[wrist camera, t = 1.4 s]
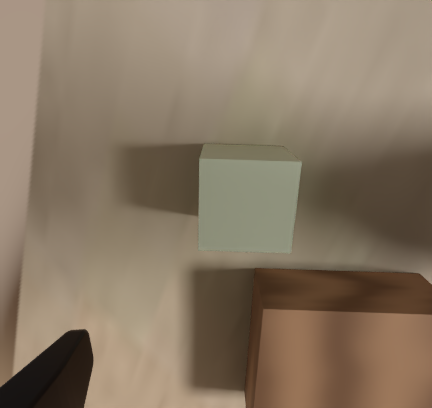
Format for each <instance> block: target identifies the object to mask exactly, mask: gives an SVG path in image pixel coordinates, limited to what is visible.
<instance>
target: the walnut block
mask: <svg viewBox="0 0 432 408" xmlns="http://www.w3.org/2000/svg"><path fill="white" fill-rule="evenodd" d="M245 401H246V408H432V284H430V283H429V282H428V281H427V280H426V279H425V278H424V277H423V276H421V275H420V274H418V273H387V272H357V271H327V270H297V269H266V268H255V274H254V286H253V298H252V310H251V322H250V334H249V346H248V357H247V369H246V381H245Z"/></svg>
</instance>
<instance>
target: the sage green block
mask: <svg viewBox="0 0 432 408" xmlns="http://www.w3.org/2000/svg"><path fill="white" fill-rule="evenodd" d="M301 167H302V161H300V160H299V159H298V158H297V157H295V156H294V155H293V154H292V153H291V152H289V151H288V150H287V149H286V148H284V147H283V146H264V145H232V144H204V145H203V148H202V152H201V155H200V158H199V223H198V251H229V252H260V253H291V248H292V240H293V232H294V224H295V216H296V207H297V199H298V191H299V183H300V175H301Z"/></svg>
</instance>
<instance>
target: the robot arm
mask: <svg viewBox="0 0 432 408" xmlns="http://www.w3.org/2000/svg"><path fill="white" fill-rule="evenodd" d="M92 368H93V352H92V347H91V342H90V337H89V333H88V331H87V330H85V329H80V330H70V331H68V332H66V333H65V334H64V335H63V336H61V337H60V338H59V339H58V340H57V341H55V342H54V343H53V344H52V345H51V346H49V347H48V348H47V349H46V350H45V351H43V352H42V353H41V354H40V355H39V356H37V357H36V358H35V359H34V360H33V361H31V362H30V363H29V364H28V365H27V366H25V367H24V368H23V369H22V370H21V371H19V372H18V373H17V374H16V375H14V376H13V377H12V378H11V379H10V380H9V381H7V382H6V383H5V384H4V385H2V386H1V387H0V408H84V404H85V400H86V395H87V391H88V386H89V381H90V377H91V372H92Z"/></svg>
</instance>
